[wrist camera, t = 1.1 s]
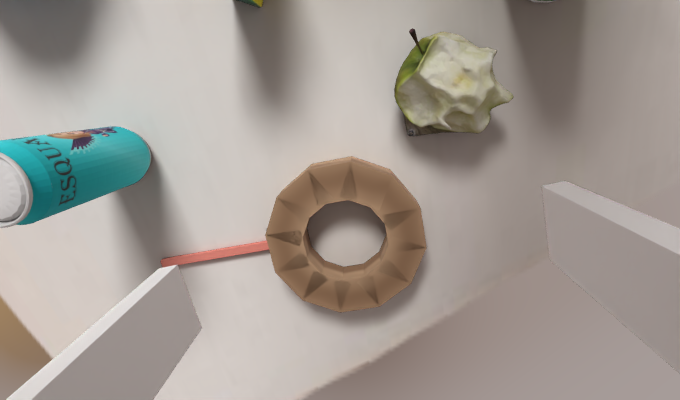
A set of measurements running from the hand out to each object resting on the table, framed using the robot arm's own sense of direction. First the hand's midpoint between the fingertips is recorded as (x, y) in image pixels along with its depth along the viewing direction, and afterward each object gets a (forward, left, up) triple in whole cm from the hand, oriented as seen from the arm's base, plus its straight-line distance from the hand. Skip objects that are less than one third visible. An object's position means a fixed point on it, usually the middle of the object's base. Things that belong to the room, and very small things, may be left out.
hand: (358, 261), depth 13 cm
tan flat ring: (+7, -3, -24) cm, 26 cm away
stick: (+7, -17, -24) cm, 31 cm away
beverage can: (-5, -23, -25) cm, 34 cm away
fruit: (-5, +9, -25) cm, 27 cm away
